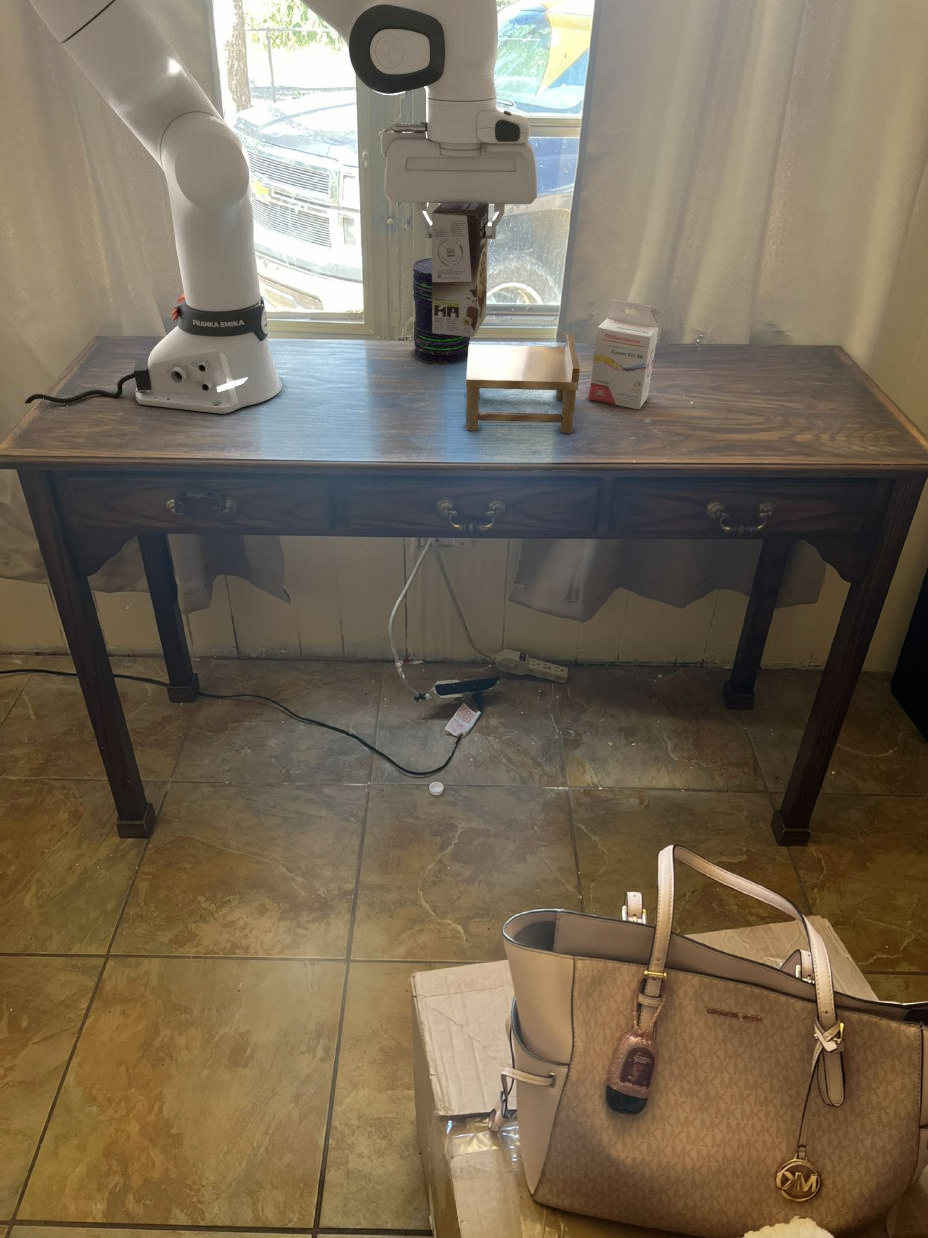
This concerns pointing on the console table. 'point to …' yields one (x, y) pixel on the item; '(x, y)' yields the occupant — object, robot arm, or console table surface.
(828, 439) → the console table surface
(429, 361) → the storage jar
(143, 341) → the console table surface
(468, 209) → the coffee box
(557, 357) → the miniature wooden bench
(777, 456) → the console table surface
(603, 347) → the ink cartridge box
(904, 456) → the console table surface
